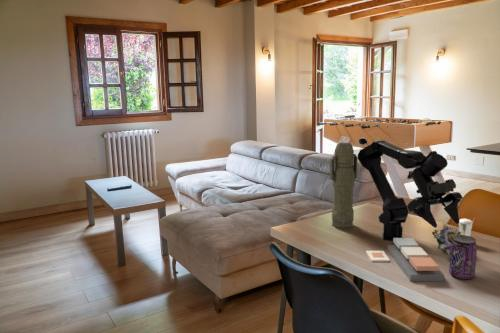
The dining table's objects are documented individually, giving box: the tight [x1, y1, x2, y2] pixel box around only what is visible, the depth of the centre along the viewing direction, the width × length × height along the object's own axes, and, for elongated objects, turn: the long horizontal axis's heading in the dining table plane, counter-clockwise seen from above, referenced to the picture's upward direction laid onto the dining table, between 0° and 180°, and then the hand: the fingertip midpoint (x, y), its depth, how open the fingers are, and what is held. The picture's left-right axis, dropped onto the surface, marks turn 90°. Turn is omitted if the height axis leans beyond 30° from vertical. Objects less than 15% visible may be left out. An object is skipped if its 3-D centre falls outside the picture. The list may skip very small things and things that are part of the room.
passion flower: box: [431, 222, 464, 255], centre depth 145 cm, size 11×11×12 cm
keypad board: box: [387, 244, 446, 282], centre depth 135 cm, size 24×10×2 cm, turn 178°
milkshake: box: [458, 217, 476, 237], centre depth 152 cm, size 4×5×10 cm
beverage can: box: [448, 235, 478, 280], centre depth 126 cm, size 7×7×12 cm
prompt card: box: [365, 250, 391, 263], centre depth 142 cm, size 8×6×1 cm
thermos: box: [329, 142, 359, 230], centre depth 171 cm, size 9×12×35 cm
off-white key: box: [401, 246, 429, 259], centre depth 135 cm, size 6×6×1 cm
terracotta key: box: [409, 256, 440, 271], centre depth 126 cm, size 6×6×1 cm
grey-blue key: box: [392, 237, 419, 249], centre depth 143 cm, size 6×6×1 cm
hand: (447, 225), depth 133 cm, fingers open, 9 cm apart
